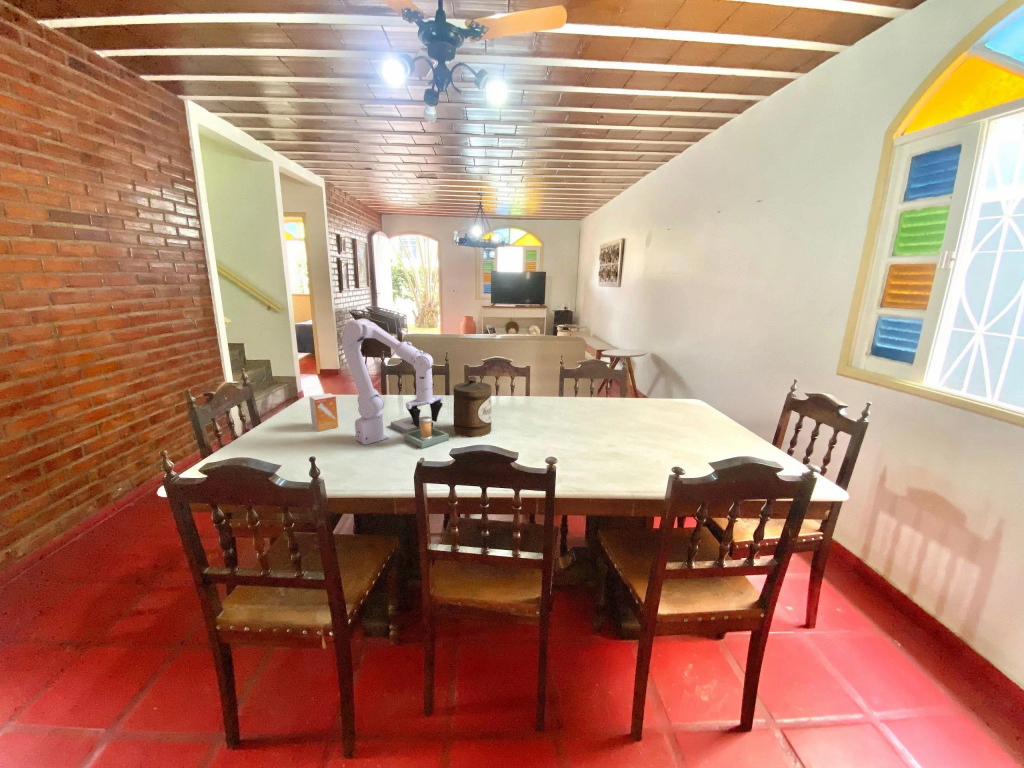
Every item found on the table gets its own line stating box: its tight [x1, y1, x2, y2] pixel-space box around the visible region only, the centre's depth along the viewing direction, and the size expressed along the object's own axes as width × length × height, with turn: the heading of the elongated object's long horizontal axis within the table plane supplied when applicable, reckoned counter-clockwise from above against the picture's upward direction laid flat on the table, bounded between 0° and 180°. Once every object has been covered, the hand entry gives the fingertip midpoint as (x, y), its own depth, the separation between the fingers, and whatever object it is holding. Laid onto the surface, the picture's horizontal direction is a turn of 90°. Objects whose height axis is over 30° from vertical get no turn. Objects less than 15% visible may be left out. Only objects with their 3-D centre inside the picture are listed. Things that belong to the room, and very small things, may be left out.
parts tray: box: [403, 426, 450, 450], centre depth 152 cm, size 12×12×2 cm
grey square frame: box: [390, 416, 434, 434], centre depth 166 cm, size 12×12×2 cm
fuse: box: [420, 416, 432, 441], centre depth 151 cm, size 4×4×8 cm
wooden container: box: [453, 375, 492, 438], centre depth 160 cm, size 15×15×22 cm
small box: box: [308, 392, 339, 433], centre depth 162 cm, size 8×6×13 cm
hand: (425, 423), depth 151 cm, fingers open, 7 cm apart
